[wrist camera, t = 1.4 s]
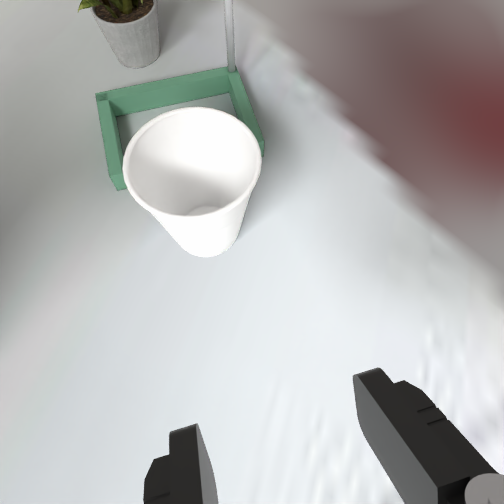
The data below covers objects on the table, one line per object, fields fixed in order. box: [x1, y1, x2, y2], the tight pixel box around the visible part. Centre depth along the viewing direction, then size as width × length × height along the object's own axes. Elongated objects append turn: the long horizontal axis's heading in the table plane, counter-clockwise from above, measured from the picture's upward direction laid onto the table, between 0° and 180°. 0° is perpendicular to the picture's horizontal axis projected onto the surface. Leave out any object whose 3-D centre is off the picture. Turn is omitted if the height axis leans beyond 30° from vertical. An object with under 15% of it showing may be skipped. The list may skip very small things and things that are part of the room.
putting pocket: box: [95, 0, 264, 191], centre depth 35 cm, size 20×11×16 cm, turn 106°
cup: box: [122, 107, 262, 257], centre depth 33 cm, size 10×10×11 cm
